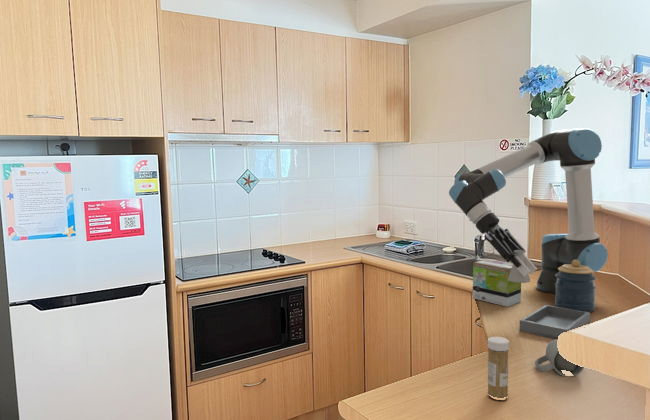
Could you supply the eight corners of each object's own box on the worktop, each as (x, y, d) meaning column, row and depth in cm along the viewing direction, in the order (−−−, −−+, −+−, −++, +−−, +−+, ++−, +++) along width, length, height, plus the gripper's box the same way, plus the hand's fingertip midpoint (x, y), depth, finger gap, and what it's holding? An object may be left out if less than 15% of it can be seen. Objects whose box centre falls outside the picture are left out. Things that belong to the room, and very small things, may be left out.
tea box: (471, 299, 190) (472, 261, 189) (486, 294, 197) (486, 258, 195) (507, 307, 179) (508, 267, 177) (521, 302, 185) (522, 263, 184)
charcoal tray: (545, 314, 169) (545, 304, 169) (589, 323, 160) (590, 312, 159) (519, 331, 154) (519, 320, 153) (566, 341, 144) (567, 329, 144)
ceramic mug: (573, 364, 128) (573, 335, 127) (585, 377, 120) (585, 347, 119) (530, 363, 130) (530, 335, 129) (540, 376, 121) (540, 346, 121)
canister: (553, 302, 184) (554, 255, 183) (592, 305, 180) (593, 257, 178) (555, 311, 172) (557, 262, 171) (597, 315, 168) (599, 264, 166)
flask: (534, 280, 162) (534, 250, 161) (525, 284, 157) (526, 254, 156) (512, 277, 167) (512, 248, 166) (503, 281, 161) (503, 251, 160)
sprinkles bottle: (510, 402, 108) (511, 343, 107) (488, 401, 109) (489, 342, 108) (505, 392, 113) (506, 336, 112) (485, 391, 114) (486, 335, 112)
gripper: (488, 223, 177) (533, 274, 167) (463, 228, 165) (510, 284, 155) (502, 209, 173) (549, 261, 163) (478, 213, 160) (528, 270, 150)
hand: (530, 272), depth 159 cm, fingers closed on flask, 4 cm apart
